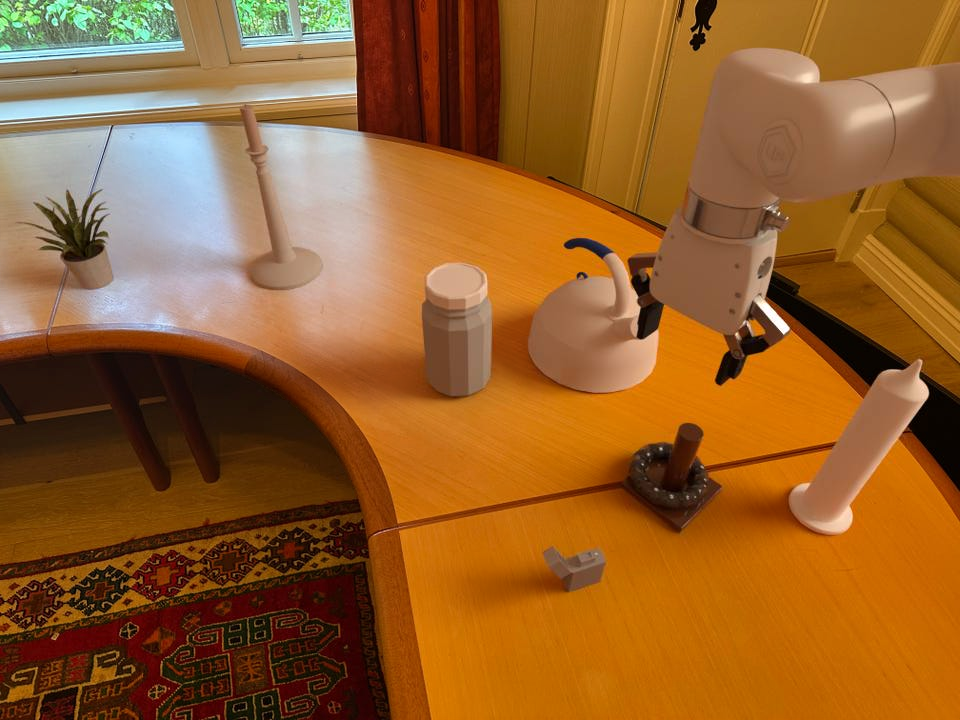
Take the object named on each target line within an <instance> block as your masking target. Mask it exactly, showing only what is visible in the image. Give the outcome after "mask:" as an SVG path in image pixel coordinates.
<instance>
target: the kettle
mask: <svg viewBox="0 0 960 720" xmlns="http://www.w3.org/2000/svg"><path fill="white" fill-rule="evenodd" d="M563 247H564V248H565V249H566V250H574V249H576V248H581V249H585V250H587V251H589V252H592V253H593V254H595V255H596V256H597V257H598V258H600V259H601V260H602V261H603V262H604V263H605V265H606V266H607V268H608V269H609V272H610V275H611V277H606V276H601V275H592V276H591V275H590V276H589V275H588V273H586V272H584V271H579V272H578V273H577V274H576V278H574V279H571V280H569V281H566V282H564V283H562V284H561V285H560V286H559V287H557V288H556V289H554V290H553V291H551V292H550V293H549V294H547V295H546V296H545V298H544V299H543V300H542V302H541V303H540V305H539V306H538V308H537V309H536V310H535V312H534V314H533V318H532V321H531V326H530V330H529V334H528V339H527V350H528V355H529V357H530V358H531V360H532V362H533V364H534V365H535V367H537V368H538V370H540V371H541V372H542V374H544V376H546V377H548V378H549V379H551V380H553V381H554V382H556V383H557V384H559V385H562V386H564V387H567V388H570V389H573V390H576V391H581V392H588V393H599V394H600V393H615V392H618V391H624V390H627V389H628V390H629V389H630V388H632V387H634V386H636V385H639V384H640V383H642V382H643V381H644V380H645V379H647V377H649V376H650V375H651V374H652V372H653V370H654V368H655V366H656V364H657V354H658V347H659V328H658V329H657V330H656V331H655V332H653V333H652V334H651V335H649V336H648V337H646V338H645V339H643V340H640V339H638V338H637V337H636V336H637V331H638V327H639V326H638V325H637V322H638V317H639V313H640V308H641V307H640V306H639V305H638V304H637V299H638V298H639V297H638V296H637V294H636V292H635V290H634V288H632V284H631V280H630V277H629V273H628V271H627V269H626V267H625V264H624V263H623V261H622V260H621V258H620V257H619V256H618V255H617V254H616V252H615V251H613V250H612V249H610V248H609V247H608V246H607V245H605V244H603V243H601V242H599V241H596V240H594V239H591V238H587V237H575V238H570V239H568V240H567V241H565V242H563ZM581 276H582V277H581Z"/></svg>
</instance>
